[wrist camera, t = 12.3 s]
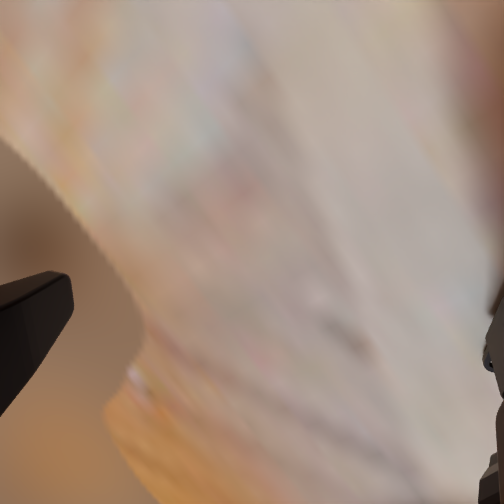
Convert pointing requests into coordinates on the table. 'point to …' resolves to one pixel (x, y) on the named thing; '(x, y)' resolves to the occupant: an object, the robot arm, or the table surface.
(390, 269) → the table surface
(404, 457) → the table surface
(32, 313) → the robot arm
